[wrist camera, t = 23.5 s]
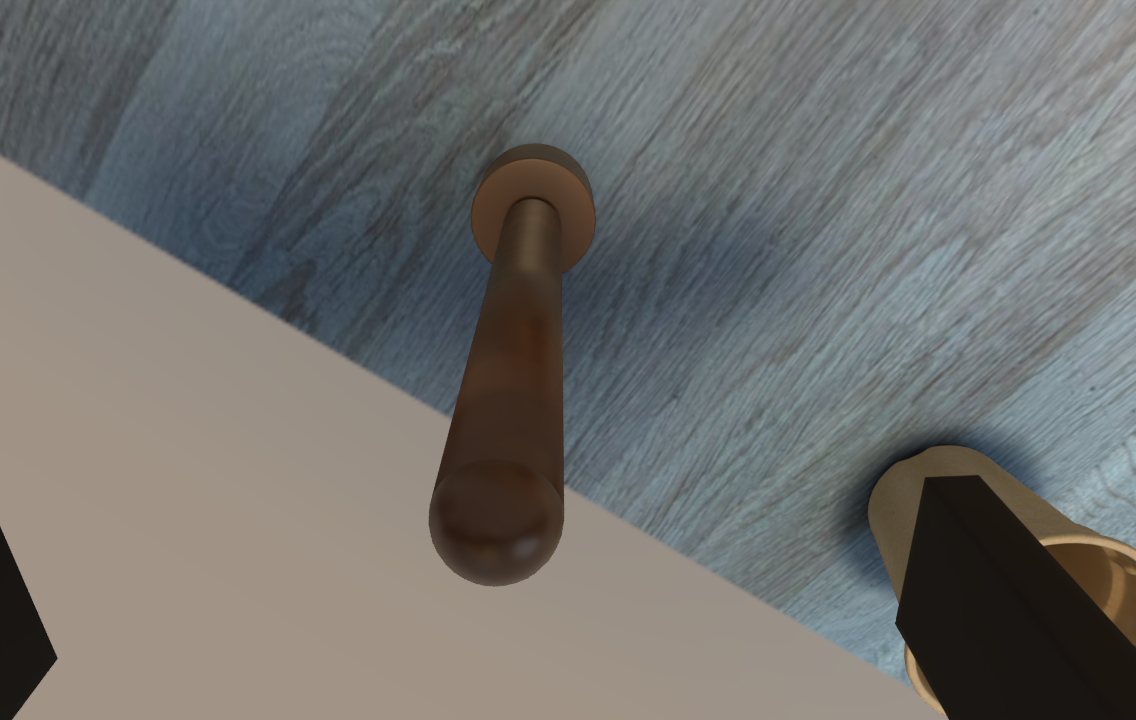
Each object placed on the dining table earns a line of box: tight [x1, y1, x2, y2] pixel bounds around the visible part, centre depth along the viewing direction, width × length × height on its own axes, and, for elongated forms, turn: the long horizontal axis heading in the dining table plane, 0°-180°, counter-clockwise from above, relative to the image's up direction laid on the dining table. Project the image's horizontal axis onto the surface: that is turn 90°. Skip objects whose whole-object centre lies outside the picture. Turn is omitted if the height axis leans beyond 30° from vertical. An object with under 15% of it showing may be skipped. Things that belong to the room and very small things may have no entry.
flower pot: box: [868, 445, 1136, 717], centre depth 32 cm, size 9×9×9 cm
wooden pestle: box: [429, 144, 596, 586], centre depth 20 cm, size 4×4×21 cm
